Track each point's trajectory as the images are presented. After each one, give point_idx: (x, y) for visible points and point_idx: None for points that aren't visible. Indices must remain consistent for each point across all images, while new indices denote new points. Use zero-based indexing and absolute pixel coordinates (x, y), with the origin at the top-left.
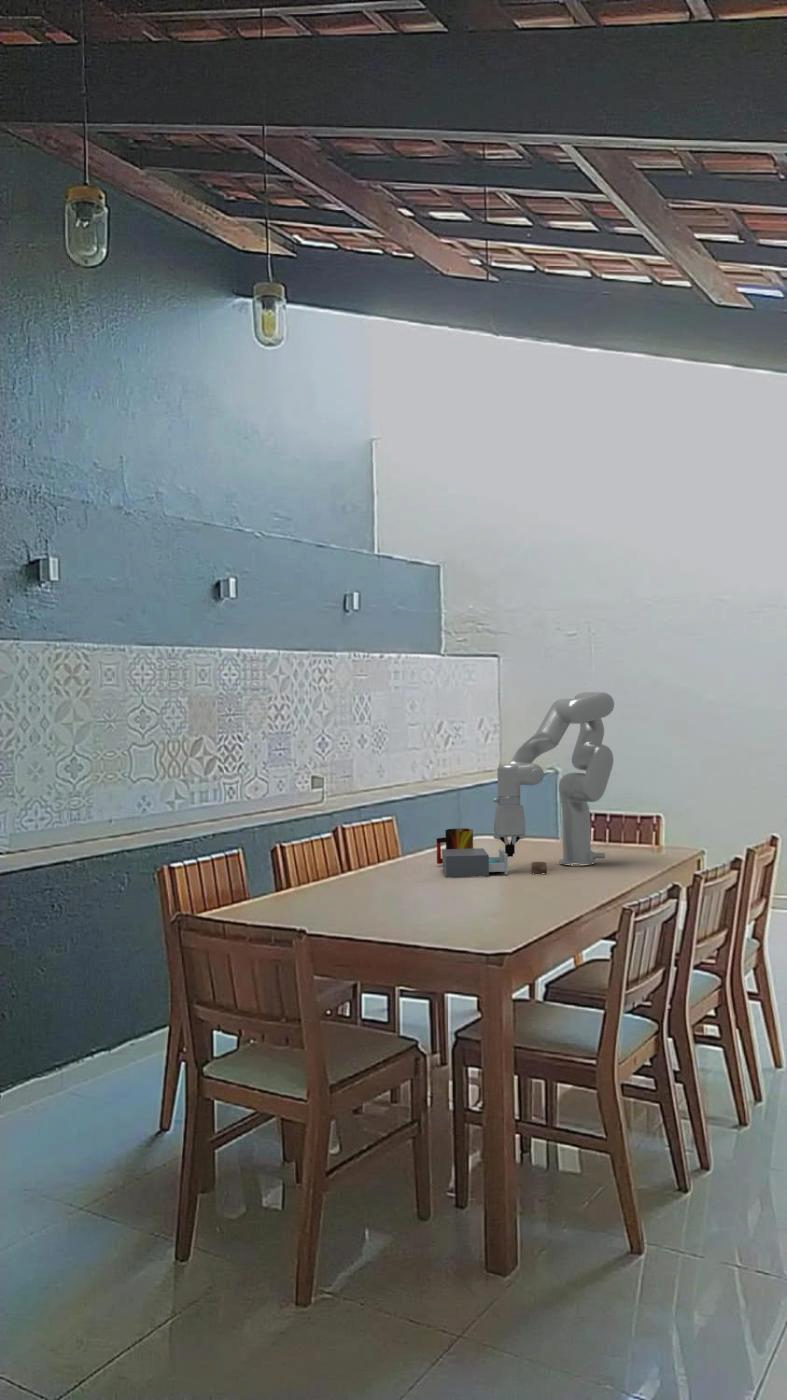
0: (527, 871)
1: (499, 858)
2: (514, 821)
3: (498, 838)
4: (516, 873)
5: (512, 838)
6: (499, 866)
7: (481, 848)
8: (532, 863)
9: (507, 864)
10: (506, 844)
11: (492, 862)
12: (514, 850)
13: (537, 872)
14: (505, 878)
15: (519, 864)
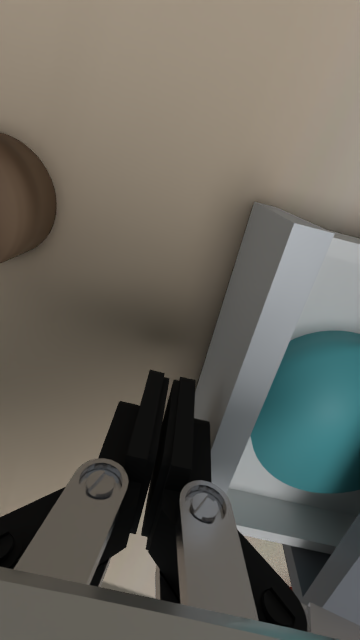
0: (59, 319)
1: None
2: None
3: (331, 629)
4: (155, 272)
5: (96, 564)
6: (338, 236)
7: None
8: (10, 195)
9: (271, 211)
10: (209, 488)
11: (353, 350)
12: (114, 418)
13: (13, 140)
14: (343, 51)
15: None
